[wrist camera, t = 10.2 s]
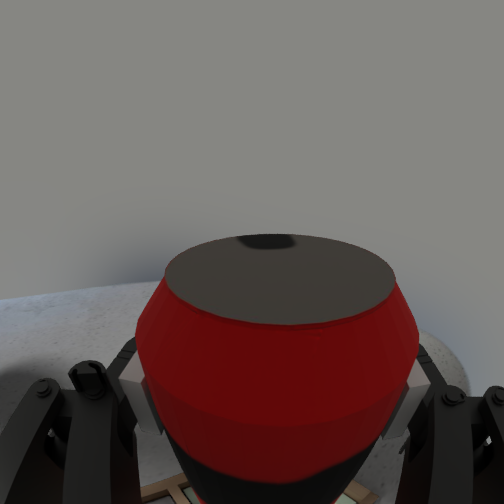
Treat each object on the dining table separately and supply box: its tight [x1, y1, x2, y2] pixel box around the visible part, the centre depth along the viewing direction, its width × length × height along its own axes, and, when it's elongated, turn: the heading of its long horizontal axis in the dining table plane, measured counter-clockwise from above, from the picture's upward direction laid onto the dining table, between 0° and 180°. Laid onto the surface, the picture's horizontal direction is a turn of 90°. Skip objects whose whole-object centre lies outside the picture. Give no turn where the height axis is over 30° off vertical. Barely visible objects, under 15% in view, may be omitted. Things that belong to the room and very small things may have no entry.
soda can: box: [135, 234, 419, 504], centre depth 9 cm, size 8×8×12 cm
